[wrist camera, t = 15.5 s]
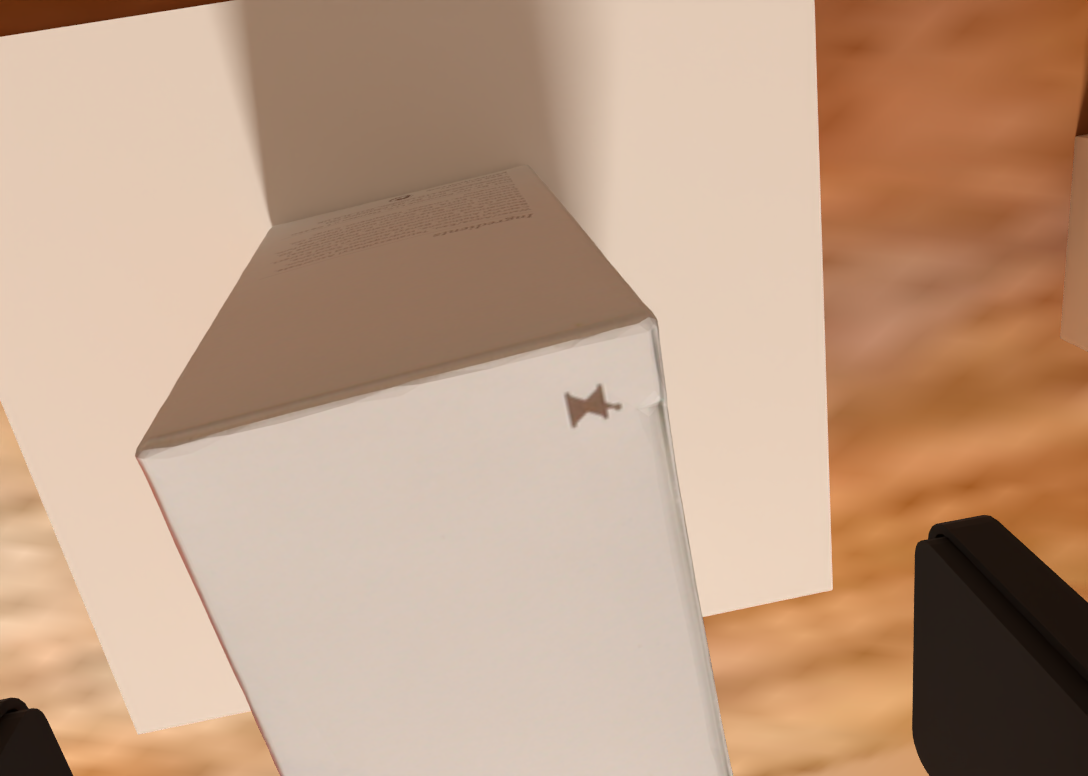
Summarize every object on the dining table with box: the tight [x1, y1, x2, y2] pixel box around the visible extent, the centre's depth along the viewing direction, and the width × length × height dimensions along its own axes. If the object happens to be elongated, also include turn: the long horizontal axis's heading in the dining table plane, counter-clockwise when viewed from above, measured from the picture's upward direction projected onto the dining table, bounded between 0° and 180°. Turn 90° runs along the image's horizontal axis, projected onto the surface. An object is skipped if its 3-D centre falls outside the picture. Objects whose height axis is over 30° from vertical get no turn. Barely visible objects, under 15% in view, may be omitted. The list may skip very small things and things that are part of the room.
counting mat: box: [0, 0, 833, 734], centre depth 21 cm, size 18×16×1 cm
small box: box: [135, 165, 733, 776], centre depth 15 cm, size 8×6×10 cm
